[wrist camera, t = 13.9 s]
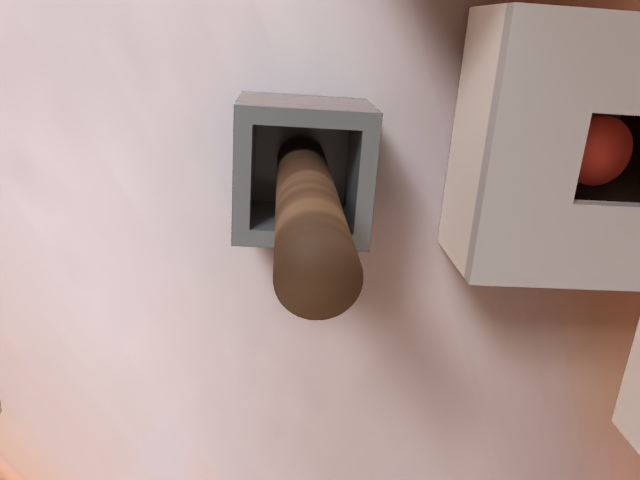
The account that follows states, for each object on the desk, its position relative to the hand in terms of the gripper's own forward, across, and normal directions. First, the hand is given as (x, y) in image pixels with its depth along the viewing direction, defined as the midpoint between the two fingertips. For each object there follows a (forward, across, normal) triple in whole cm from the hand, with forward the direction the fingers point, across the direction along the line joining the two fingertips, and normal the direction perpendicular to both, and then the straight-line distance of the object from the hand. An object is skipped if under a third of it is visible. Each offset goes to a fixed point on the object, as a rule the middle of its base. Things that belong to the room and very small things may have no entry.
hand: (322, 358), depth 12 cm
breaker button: (+24, +16, +1) cm, 29 cm away
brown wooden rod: (+24, 0, -1) cm, 24 cm away
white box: (+25, +16, +1) cm, 30 cm away
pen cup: (+25, 0, -1) cm, 25 cm away
